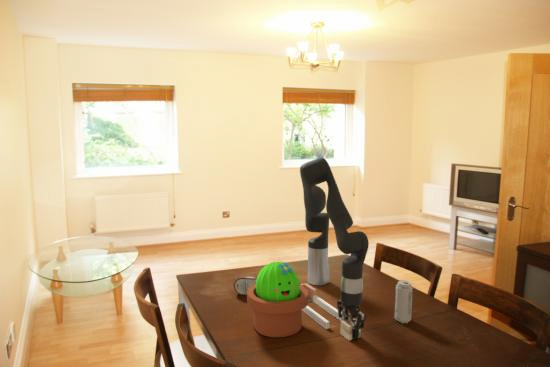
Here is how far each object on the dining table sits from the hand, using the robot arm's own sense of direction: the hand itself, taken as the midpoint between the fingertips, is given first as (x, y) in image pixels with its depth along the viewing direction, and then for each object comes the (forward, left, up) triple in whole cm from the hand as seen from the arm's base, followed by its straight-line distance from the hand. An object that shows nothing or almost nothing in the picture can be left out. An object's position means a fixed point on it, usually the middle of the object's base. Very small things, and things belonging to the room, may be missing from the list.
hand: (350, 334), depth 152 cm
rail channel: (0, -23, 0) cm, 23 cm away
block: (0, 0, 0) cm, 0 cm away
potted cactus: (+20, -17, -1) cm, 27 cm away
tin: (+17, -49, -1) cm, 52 cm away
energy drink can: (-25, -1, -1) cm, 25 cm away
